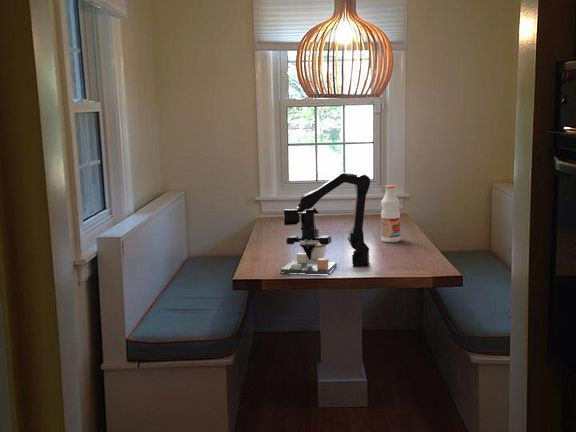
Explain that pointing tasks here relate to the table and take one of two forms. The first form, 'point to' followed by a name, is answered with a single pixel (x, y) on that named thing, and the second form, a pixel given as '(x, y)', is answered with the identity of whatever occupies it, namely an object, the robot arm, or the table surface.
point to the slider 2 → (322, 263)
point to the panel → (308, 268)
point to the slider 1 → (302, 258)
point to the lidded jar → (318, 252)
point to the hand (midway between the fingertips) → (309, 259)
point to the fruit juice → (390, 216)
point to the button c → (296, 266)
